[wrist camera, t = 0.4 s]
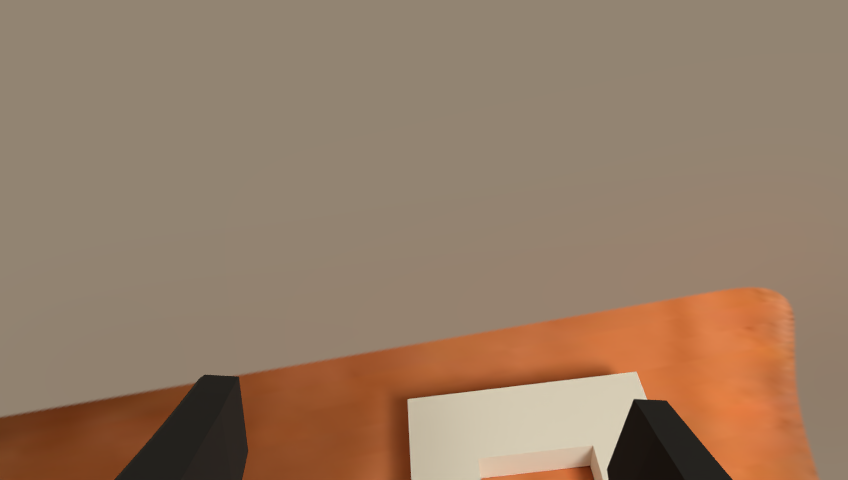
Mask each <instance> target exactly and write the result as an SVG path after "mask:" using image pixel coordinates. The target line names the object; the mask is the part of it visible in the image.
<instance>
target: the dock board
mask: <svg viewBox="0 0 848 480" xmlns="http://www.w3.org/2000/svg"><path fill="white" fill-rule="evenodd" d="M634 399H644V400H647V398H646V395H645V393H644V390H643V388H642V385H641V383H640V380H639V377H638V375H637V372H629V373H621V374H613V375H604V376H596V377H588V378H579V379H571V380H563V381H555V382H546V383H538V384H530V385H521V386H513V387H505V388H496V389H488V390H480V391H471V392H463V393H455V394H446V395H438V396H430V397H421V398H413V399H408V420H409V441H410V463H411V480H481V478H488V477H496V476H505V475H514V474H522V473H531V472H540V471H548V470H557V469H566V468H575V467H583V466H591V470H592V474H593V477H594V480H608V474H607V467H608V465H609V462H610V460H611V457H612V454H613V452H614V449H615V447H616V444H617V441H618V439H619V436H620V433H621V431H622V428H623V426H624V423H625V420H626V418H627V415H628V413H629V410H630V407H631V405H632V402H633V400H634Z"/></svg>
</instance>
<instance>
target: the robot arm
mask: <svg viewBox="0 0 848 480" xmlns="http://www.w3.org/2000/svg"><path fill="white" fill-rule="evenodd" d="M247 454H248V446H247V438H246V431H245V423H244V415H243V407H242V399H241V391H240V383H239V377H235V376H217V375H204V376H203V377H201V378H200V379H199V380H198V381H197V382H196V383H195V385H194V386H193V387H192V389H191V390H190V391H189V392H188V394H187V395H186V396H185V397H184V399H183V400H182V401H181V402H180V404H179V405H178V406H177V407H176V409H175V410H174V411H173V412H172V414H171V415H170V416H169V417H168V419H167V420H166V421H165V422H164V423H163V425H162V426H161V427H160V428H159V429H158V431H157V432H156V433H155V434H154V435H153V436H152V438H151V439H150V440H149V441H148V442H147V443H146V445H145V446H144V447H143V448H142V449H141V450H140V451H139V453H138V454H137V455H136V456H135V457H134V458H133V459H132V460H131V462H130V463H129V464H128V465H127V466H126V467H125V468H124V469H123V471H122V472H121V473H120V474H119V475H118V476H117V477H116V478H115V480H242V477H243V472H244V468H245V463H246V458H247ZM607 474H608V480H732V479H731V477H730V476H729V475H728V474H727V473H726V472H725V470H724V469H723V468H722V467H721V466H720V464H719V463H718V462H717V461H716V460H715V458H714V457H713V456H712V455H711V454H710V452H709V451H708V450H707V449H706V448H705V447H704V445H703V444H702V443H701V442H700V440H699V439H698V438H697V437H696V436H695V434H694V433H693V432H692V431H691V430H690V428H689V427H688V426H687V425H686V424H685V422H684V421H683V420H682V419H681V418H680V416H679V415H678V414H677V413H676V412H675V410H674V409H673V408H672V407H671V406H670V404H669V403H668V402H667V401H662V400H644V399H634V400H633V402H632V405H631V407H630V410H629V413H628V415H627V418H626V420H625V423H624V426H623V428H622V431H621V433H620V436H619V439H618V441H617V444H616V447H615V449H614V452H613V454H612V457H611V460H610V462H609V465H608V467H607Z"/></svg>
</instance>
